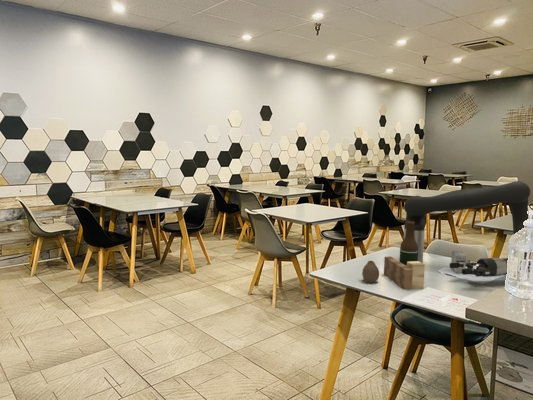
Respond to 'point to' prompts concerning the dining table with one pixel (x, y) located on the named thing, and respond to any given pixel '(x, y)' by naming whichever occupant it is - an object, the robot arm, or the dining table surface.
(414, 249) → the beer bottle
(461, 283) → the dining table surface
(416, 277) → the maple block
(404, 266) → the walnut board
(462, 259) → the medicine box
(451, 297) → the dining table surface
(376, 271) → the vase
